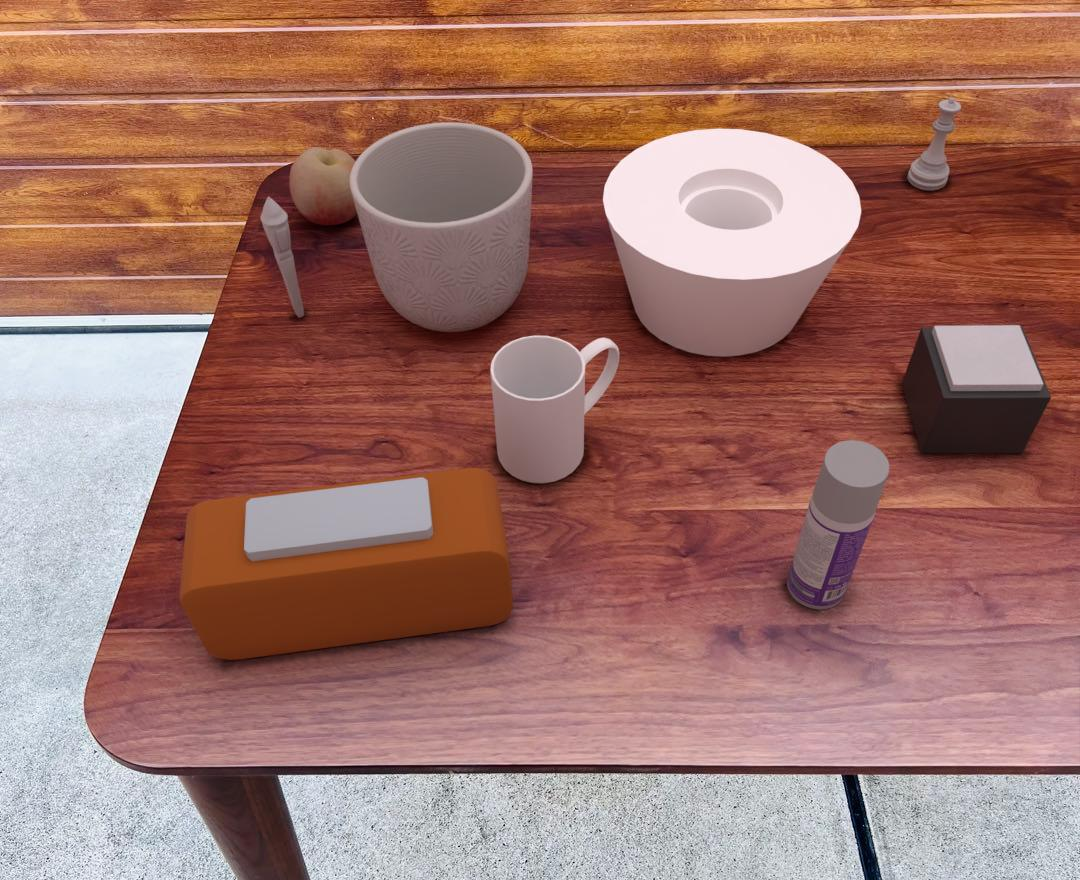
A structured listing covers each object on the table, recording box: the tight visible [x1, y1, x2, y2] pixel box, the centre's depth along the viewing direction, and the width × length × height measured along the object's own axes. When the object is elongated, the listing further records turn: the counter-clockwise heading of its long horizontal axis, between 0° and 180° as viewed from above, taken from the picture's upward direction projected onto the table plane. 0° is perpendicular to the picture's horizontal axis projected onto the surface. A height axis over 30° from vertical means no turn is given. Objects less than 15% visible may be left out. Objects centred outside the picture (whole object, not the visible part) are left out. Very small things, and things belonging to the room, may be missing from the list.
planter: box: [349, 121, 534, 333], centre depth 99 cm, size 17×17×15 cm
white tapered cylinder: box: [602, 128, 862, 357], centre depth 99 cm, size 24×24×12 cm
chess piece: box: [906, 96, 962, 192], centre depth 112 cm, size 4×4×10 cm
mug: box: [489, 335, 621, 484], centre depth 88 cm, size 12×8×10 cm, turn 124°
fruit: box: [288, 146, 357, 226], centre depth 111 cm, size 8×8×8 cm
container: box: [786, 439, 890, 610], centre depth 76 cm, size 5×5×15 cm
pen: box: [259, 196, 305, 319], centre depth 99 cm, size 2×3×14 cm
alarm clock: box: [179, 467, 514, 661], centre depth 78 cm, size 24×8×11 cm, turn 98°
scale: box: [901, 324, 1052, 454], centre depth 90 cm, size 9×9×8 cm
